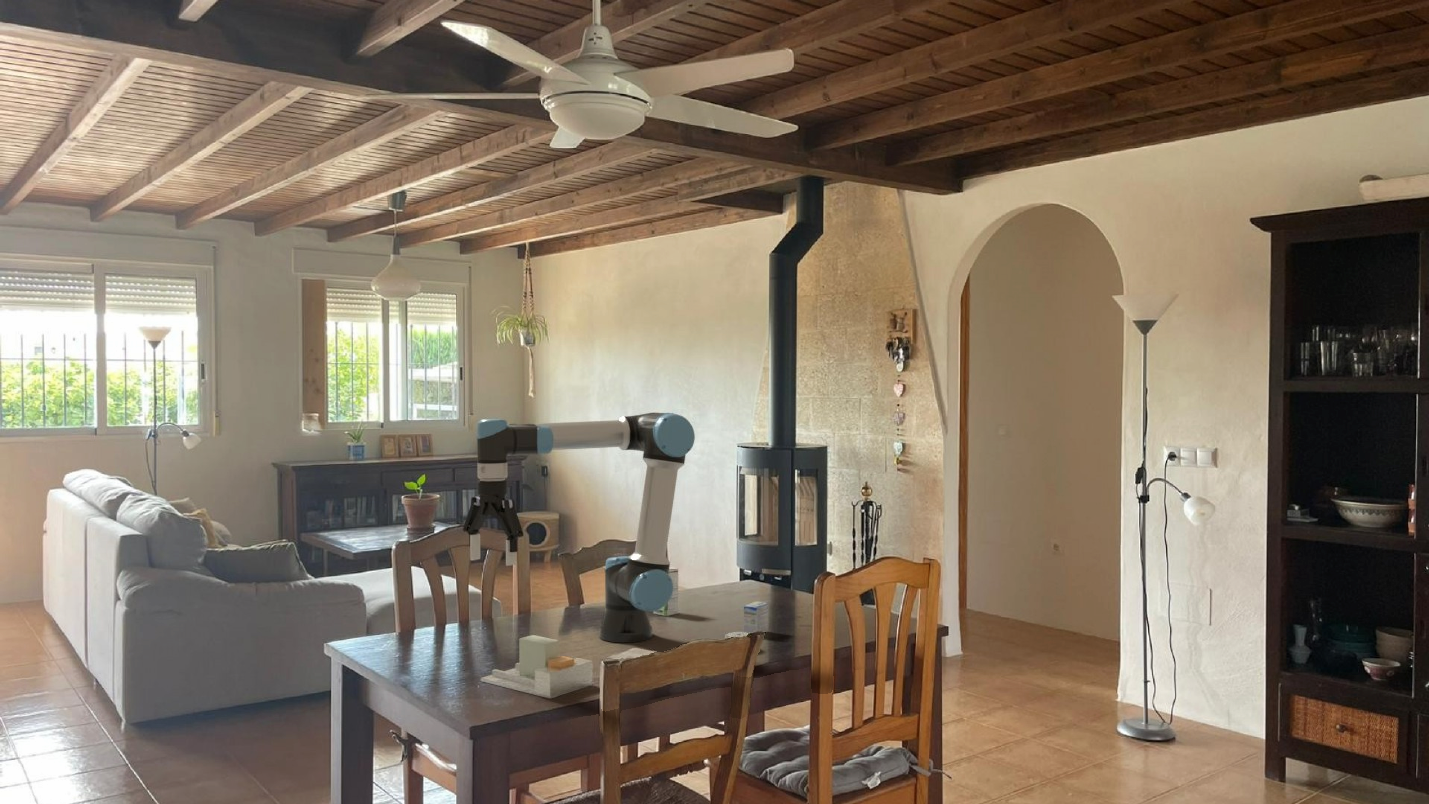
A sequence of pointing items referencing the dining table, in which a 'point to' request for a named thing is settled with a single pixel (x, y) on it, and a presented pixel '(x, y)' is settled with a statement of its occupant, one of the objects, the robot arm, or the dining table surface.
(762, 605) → the medicine box
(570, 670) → the rail plate
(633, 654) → the washcloth
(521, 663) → the block
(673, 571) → the syrup box
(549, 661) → the orange rectangular block
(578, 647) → the dining table surface
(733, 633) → the mechanical component
